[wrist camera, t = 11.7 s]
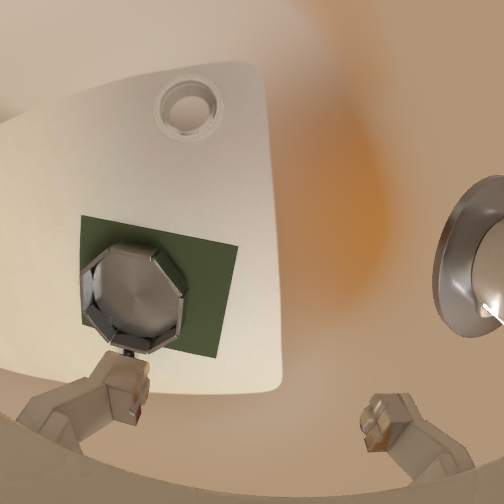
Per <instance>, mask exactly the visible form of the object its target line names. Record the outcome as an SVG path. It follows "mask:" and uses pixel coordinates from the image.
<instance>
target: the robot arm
mask: <svg viewBox="0 0 504 504" xmlns="http://www.w3.org/2000/svg"><path fill="white" fill-rule="evenodd" d="M472 288H473V292H474V294H475V297H476V299H477V313H478V315H479V316H481V317H489V316H495V317H496V318H498V319H499V320H500V321H501V322H502V323H503V324H504V219H502V220H501V221H499V222H497V223H496V224H494V225H493V226H492V227H491V228H490V229H489V231H488V232H487V233H486V235H485V236H484V238H483V240H482V241H481V243H480V245H479V248H478V250H477V253H476V256H475V259H474V263H473V269H472ZM148 373H149V363H148V362H146V361H142V360H139V359H136V358H132V357H129V356H126V355H123V354H119V353H116V352H113V351H110V350H109V351H107V352H106V353H105V354H104V356H103V357H102V359H101V360H100V362H99V363H98V365H97V366H96V368H95V369H94V371H93V372H92V374H91V375H90V377H89V378H86V377H84V378H81V379H79V380H76V381H74V382H71V383H69V384H66V385H64V386H61V387H59V388H56V389H53V390H51V391H48V392H45V393H43V394H41V395H38V396H35V397H32V398H31V400H30V401H29V403H28V404H27V405H26V406H25V408H24V409H23V410H22V412H21V413H20V415H19V416H18V417H17V419H16V420H13V419H11V418H10V417H8V416H7V415H5V414H3V413H2V412H0V504H504V457H502V458H499V459H497V460H494V461H492V462H489V463H487V464H484V465H481V466H479V467H475V465H474V463H473V461H472V459H471V457H470V455H469V453H468V451H467V450H466V448H465V447H464V446H463V445H461V444H460V443H458V442H457V441H455V440H454V439H453V438H451V437H450V436H448V435H447V434H445V433H444V432H442V431H441V430H440V429H438V428H437V427H435V426H434V425H432V424H431V423H430V422H428V421H426V420H425V421H424V420H423V418H422V417H421V414H420V413H419V410H418V409H417V406H416V405H415V403H414V401H413V399H412V397H411V395H409V394H408V393H397V394H396V393H395V394H374V395H373V396H372V397H371V399H370V400H369V402H370V405H369V406H368V407H366V408H365V409H364V411H363V412H362V414H361V418H360V427H361V431H362V432H363V433H364V434H366V437H365V439H364V440H365V443H366V447H367V450H368V452H386V451H387V453H388V454H389V455H390V457H391V458H392V459H393V460H394V461H395V462H396V463H397V464H398V465H399V466H400V467H401V468H402V469H403V470H404V471H405V472H406V473H407V474H408V475H409V476H410V477H411V478H412V479H413V480H414V481H413V482H412V483H411V484H409V485H408V486H407V487H403V488H398V489H392V490H386V491H379V492H372V493H365V494H355V495H345V496H330V497H267V496H252V495H241V494H232V493H224V492H217V491H210V490H204V489H199V488H193V487H188V486H183V485H179V484H174V483H169V482H165V481H161V480H157V479H154V478H150V477H146V476H142V475H139V474H136V473H133V472H129V471H126V470H123V469H120V468H117V467H114V466H111V465H108V464H105V463H103V462H100V461H97V460H95V459H92V458H90V457H87V456H85V455H83V452H82V450H81V448H80V445H79V442H81V441H83V440H84V439H86V438H87V437H89V436H91V435H92V434H94V433H95V432H97V431H98V430H100V429H101V428H103V427H104V426H106V425H108V424H109V423H111V422H112V421H113V420H116V421H120V422H123V423H126V424H130V425H134V426H136V425H137V422H138V420H139V417H140V415H141V406H142V405H144V404H145V402H146V400H147V397H148V392H149V385H150V380H149V378H148V377H147V375H148Z"/></svg>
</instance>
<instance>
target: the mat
mask: <svg viewBox="0 0 504 504" xmlns="http://www.w3.org/2000/svg"><path fill="white" fill-rule="evenodd" d="M121 240H122V241H127V242H132V243H137V244H142V245H147V246H152V247H157V248H159V252H160V251H162V250H163V251H164V253H165V254H166V255H167V257H168V258H169V259H170V261H171V262H172V263H173V265H174V266H175V267H176V269H177V270H178V271H179V273H180V274H181V275H182V276H183V278H184V279H185V280H186V282H187V283H188V285H187V287H189V292H188V300H187V309H186V317H185V323H184V326H183V328H182V331H181V334H180V336H179V337H178V339H176V340H174V341H172V342H170V343H169V344H167V345H165V346H163V347H165V348H169V349H174V350H178V351H183V352H187V353H192V354H197V355H202V356H207V357H212V358H216V355H217V350H218V345H219V340H220V335H221V330H222V324H223V319H224V314H225V309H226V304H227V299H228V294H229V289H230V284H231V279H232V275H233V270H234V265H235V260H236V255H237V250H238V247H237V246H232V245H227V244H222V243H217V242H212V241H207V240H202V239H197V238H192V237H187V236H182V235H177V234H172V233H167V232H162V231H157V230H152V229H147V228H142V227H137V226H132V225H127V224H122V223H117V222H112V221H107V220H102V219H97V218H92V217H87V216H81V234H80V274H81V271H82V270H83V269H84V268H85V267H86V266H87V265H89V264H90V263H91V262H92V261H93V260H94V259H95V258H97V257H98V256H99V255H100V254H101V253H102V252H103V251H105V250H106V249H107V248H109V247H110V246H111V245H113V244H114V243H116V242H117V241H118V242H119V241H121ZM98 264H99V263H97V264H96V265H95V270H96V267H97V265H98ZM95 301H96V300H95ZM81 311H82V310H81ZM83 312H84V311H82V324H83V325H86V326H89V327H92V328H94V327H93V326H92V324H91V323H90V322H89V321H88V320H87V318H86V317H85V316H84V315H83ZM176 324H177V322H176ZM176 324H175V325H176ZM118 330H119V329H118ZM116 333H117V332H116ZM116 333H115V334H116ZM152 338H154V337H152Z"/></svg>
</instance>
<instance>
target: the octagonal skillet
mask: <svg viewBox="0 0 504 504" xmlns="http://www.w3.org/2000/svg"><path fill="white" fill-rule="evenodd" d="M97 263H99V264H98V265H97V267H96V270H95V265H96V264H97ZM187 285H188V283H187V282H186V280H185V279H184V278H183V276H182V275H181V274H180V273H179V271H178V270H177V269H176V267H175V266H174V265H173V263H172V262H171V261H170V259H169V258H168V257H167V255H166V254H165V253H164V251H163V250H162V251H160V252H159V248H157V247H152V246H147V245H142V244H137V243H132V242H127V241H122V240H121V241H119V242H118V241H117V242H116V243H114V244H113V245H111V246H110V247H109V248H107V249H106V250H105V251H103V252H102V253H101V254H100V255H99V256H98V257H97V258H95V259H94V260H93V261H92V262H91V263H90V264H89V265H87V266H86V267H85V268H84V269H83V270H82V271H81V274H80V298H81V310H82V311H84V312H83V315H84V316H85V317H86V318H87V320H88V321H89V322H90V323H91V324H92V326H93V327H94V328H95V329H96V330H97V331H98V333H99V334H100V335H101V336H102V337H103V338H104V340H105V341H106V342H107V343H109V342H110V341H111V342H110V345H113V346H116V347H120V348H123V349H124V350H123V355H126V356H129V357H132V358H134V352H138V353H142V354H147V353H148V354H151V353H152V352H154V351H156V350H158V349H160V348H161V347H163V346H165V345H167V344H169V343H170V342H172V341H174V340H176V339H178V337H179V336H180V334H181V331H182V328H183V326H184V323H185V317H186V309H187V300H188V292H189V287H187ZM95 300H96V301H95ZM176 322H177V324H176ZM175 324H176V325H175ZM118 329H119V330H118ZM116 332H117V333H116ZM115 333H116V334H115ZM114 335H115V336H114ZM113 336H114V337H113ZM152 337H154V338H152ZM112 338H113V339H112ZM111 339H112V340H111Z"/></svg>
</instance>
